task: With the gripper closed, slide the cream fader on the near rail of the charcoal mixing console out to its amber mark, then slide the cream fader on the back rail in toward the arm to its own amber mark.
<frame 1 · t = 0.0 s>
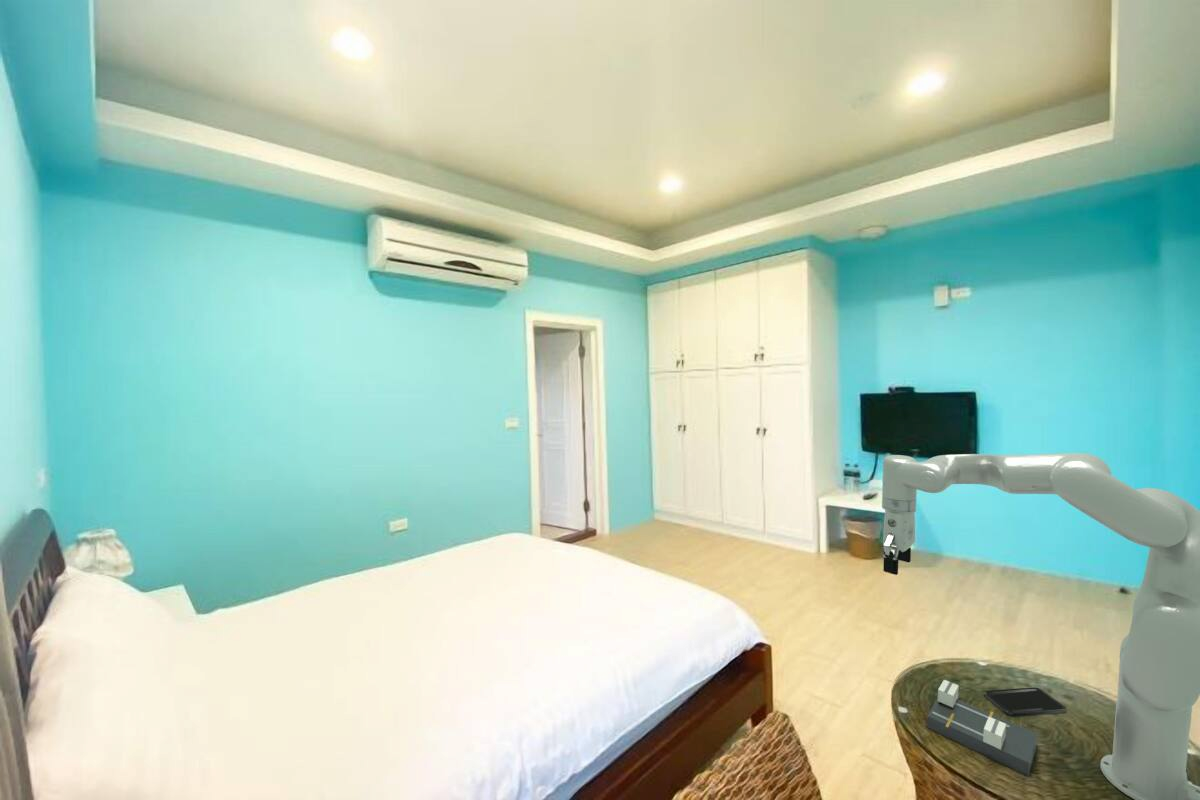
hand: (897, 566, 127), 31 cm above the table, fingers open, 9 cm apart
fader near: (994, 732, 105), point 5 cm above the table, slide at 0.0 cm
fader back: (948, 693, 117), point 5 cm above the table, slide at 10.0 cm
phone: (1023, 705, 120), on the table
console: (980, 736, 110), on the table
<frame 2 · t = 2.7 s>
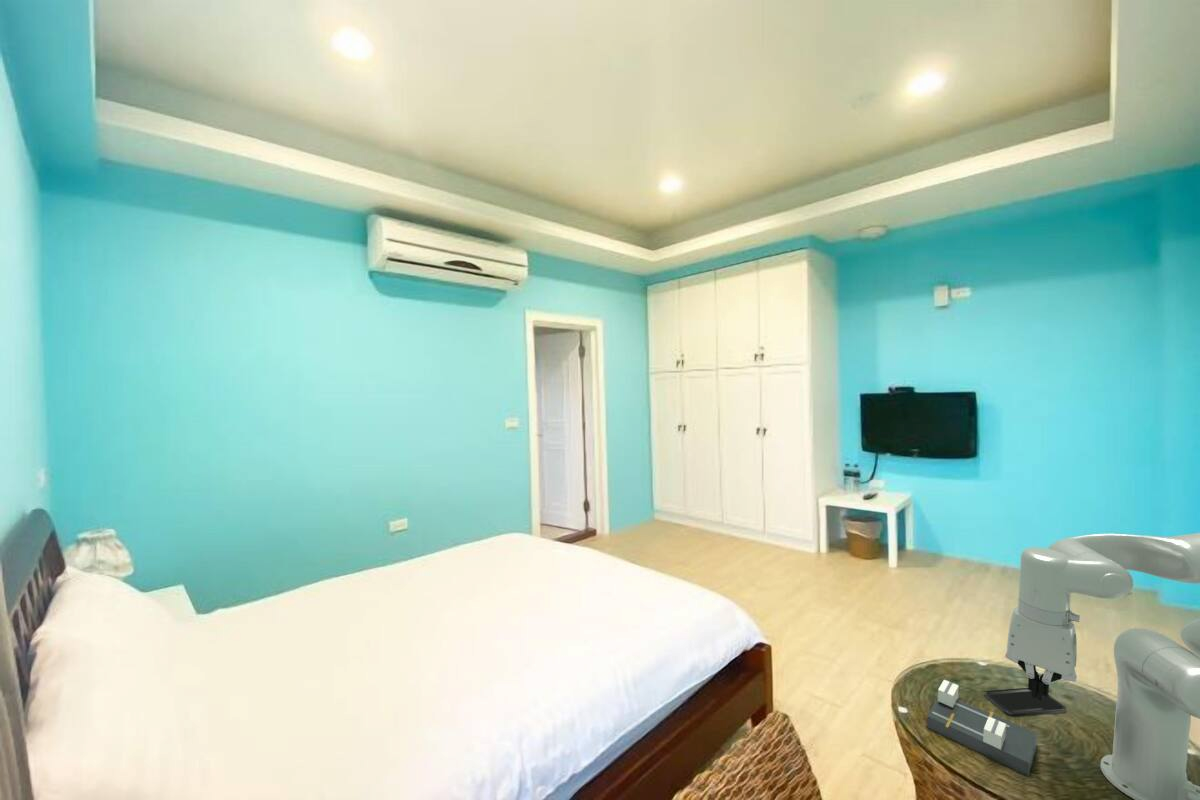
hand: (1037, 695, 99), 17 cm above the table, fingers closed
nothing on the table moved.
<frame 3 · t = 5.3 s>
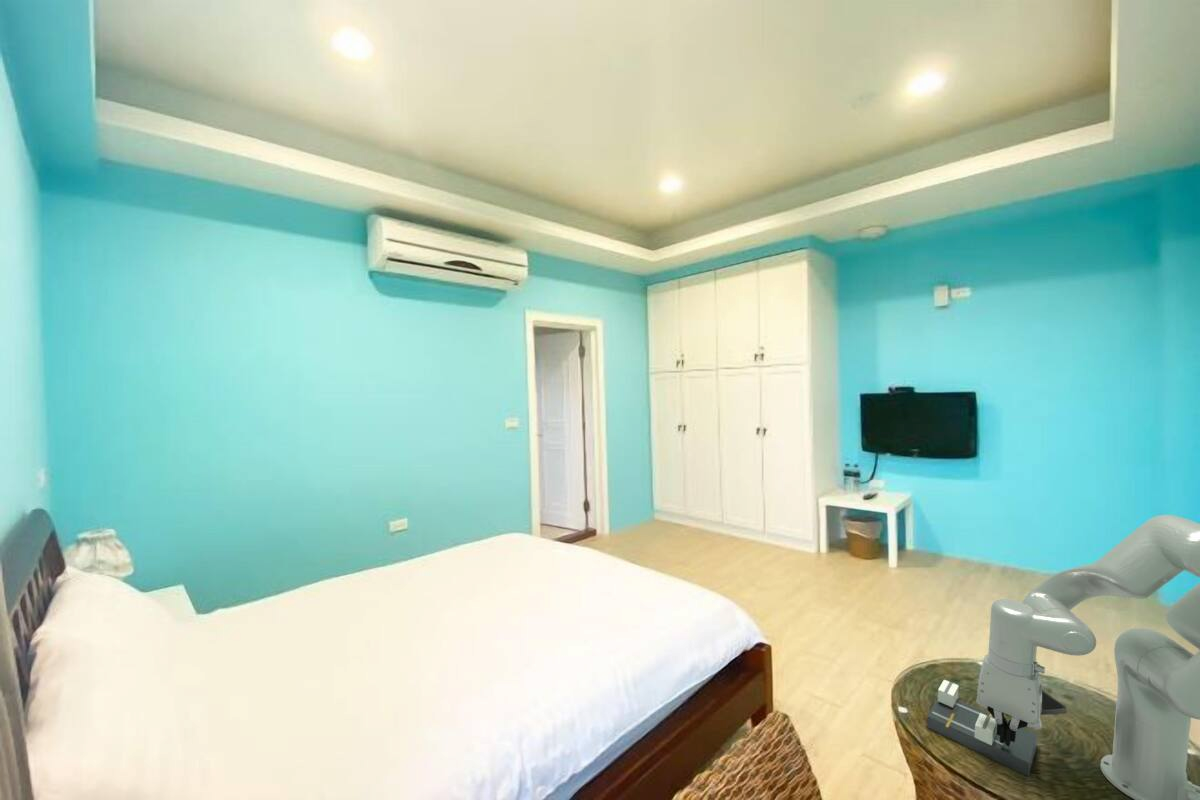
hand: (1005, 740, 104), 4 cm above the table, fingers closed
fader near: (985, 728, 106), point 5 cm above the table, slide at 1.5 cm, touching gripper
everything else where it was.
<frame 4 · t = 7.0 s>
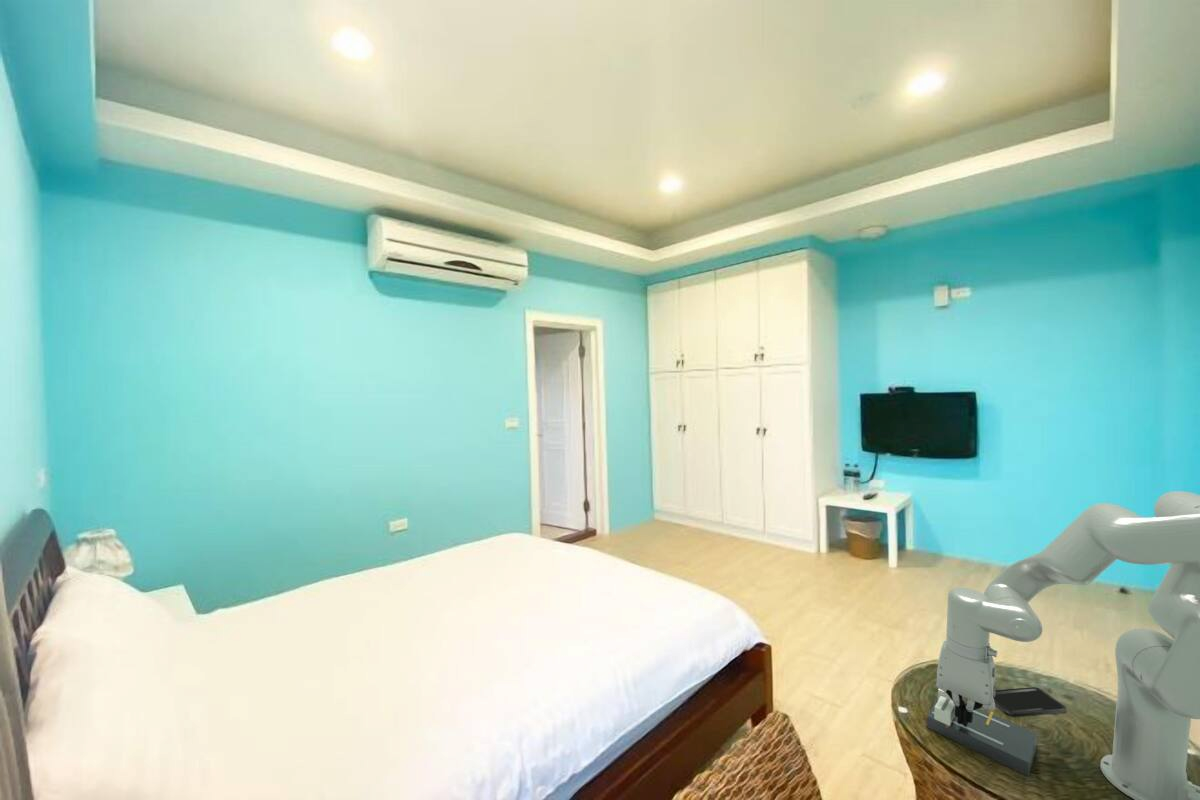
hand: (963, 721, 109), 4 cm above the table, fingers closed
fader near: (945, 710, 112), point 5 cm above the table, slide at 9.0 cm, touching gripper
everything else where it was.
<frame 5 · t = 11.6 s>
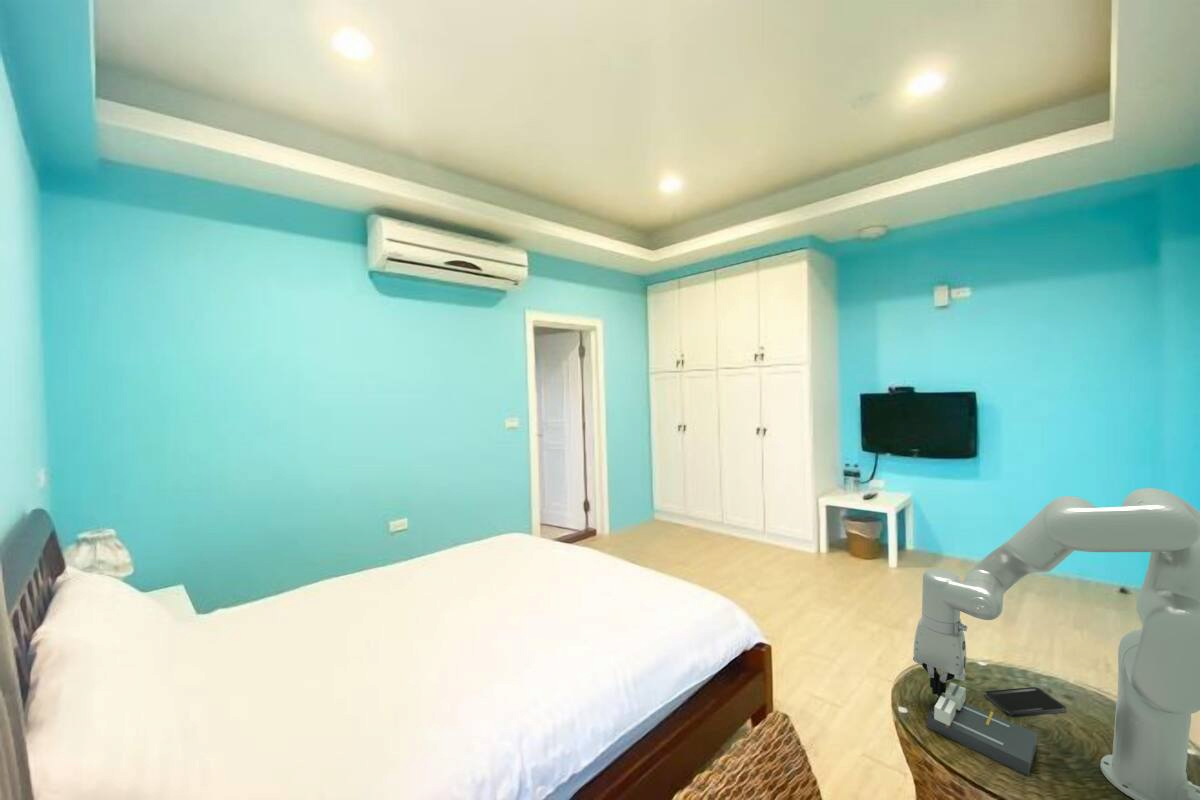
hand: (937, 692, 119), 4 cm above the table, fingers closed
fader near: (945, 710, 112), point 5 cm above the table, slide at 9.0 cm
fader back: (955, 696, 116), point 5 cm above the table, slide at 8.6 cm, touching gripper
everything else where it was.
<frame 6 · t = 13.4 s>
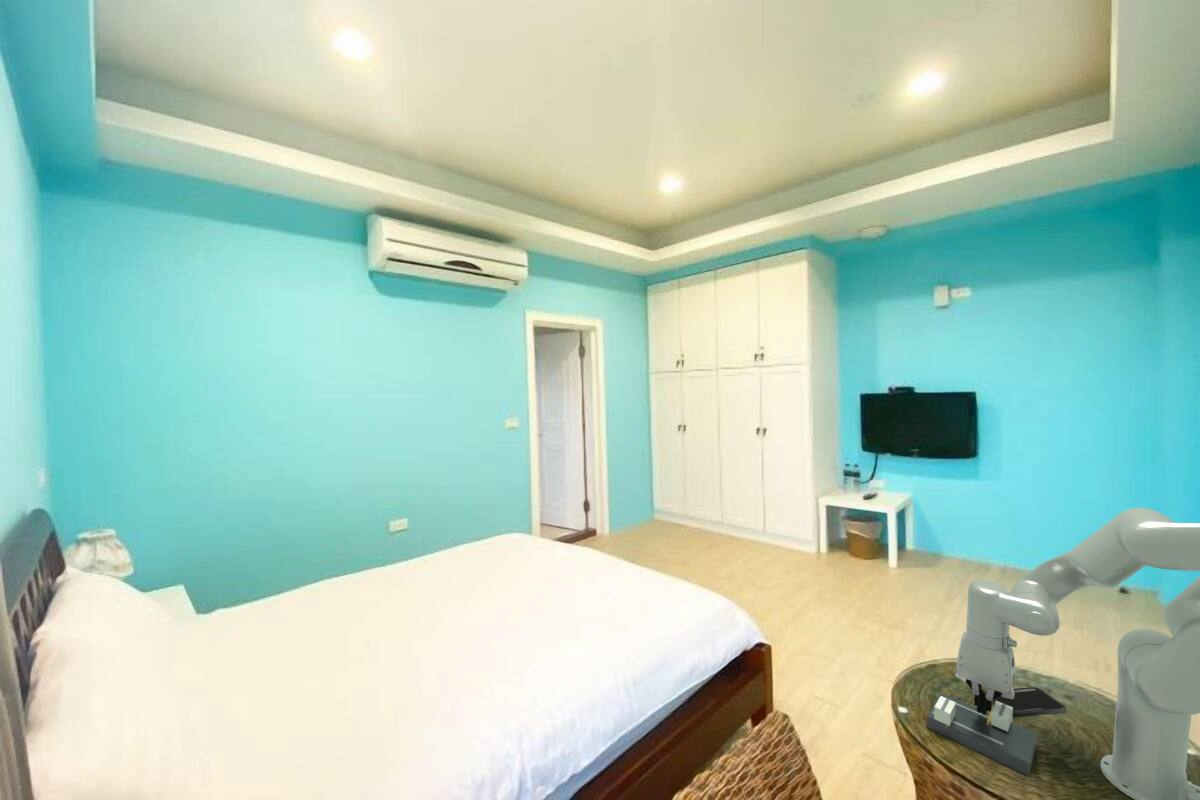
hand: (982, 710, 112), 4 cm above the table, fingers closed
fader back: (1001, 715, 110), point 5 cm above the table, slide at -0.1 cm, touching gripper
everything else where it was.
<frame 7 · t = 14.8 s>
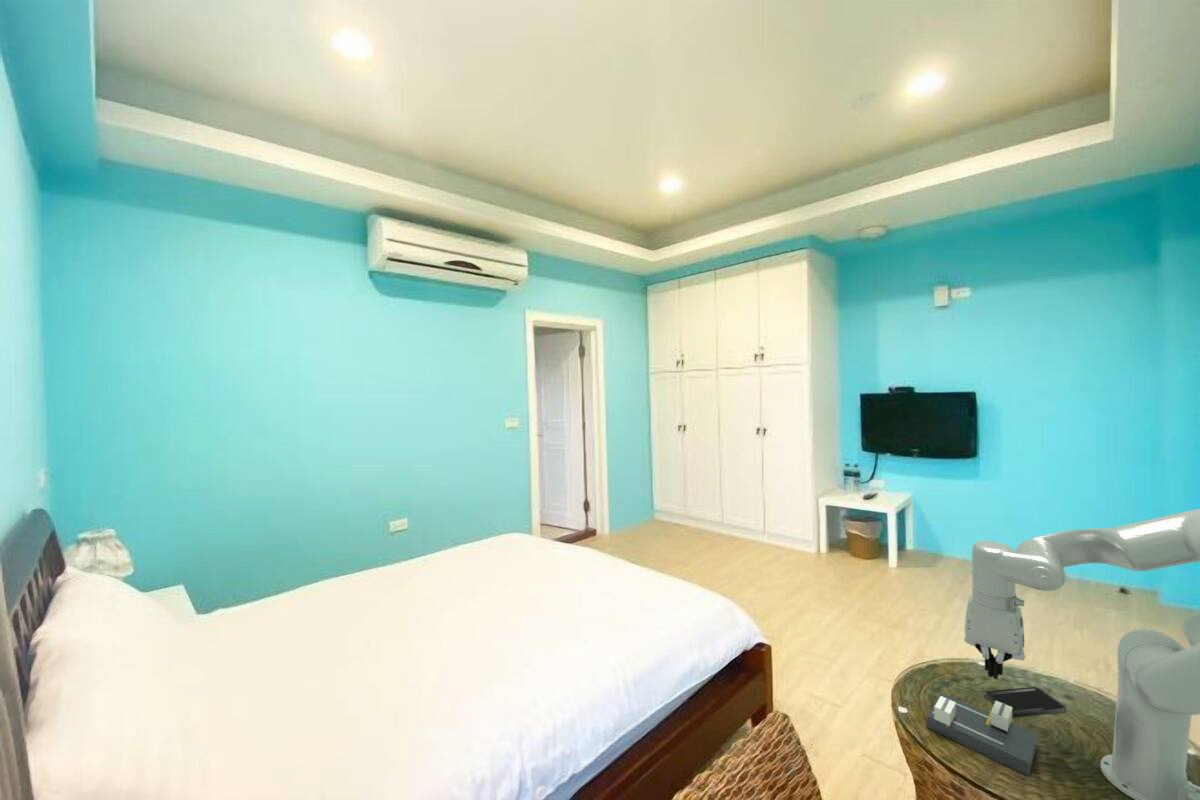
hand: (993, 675, 110), 14 cm above the table, fingers closed
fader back: (1001, 715, 110), point 5 cm above the table, slide at -0.1 cm
everything else where it was.
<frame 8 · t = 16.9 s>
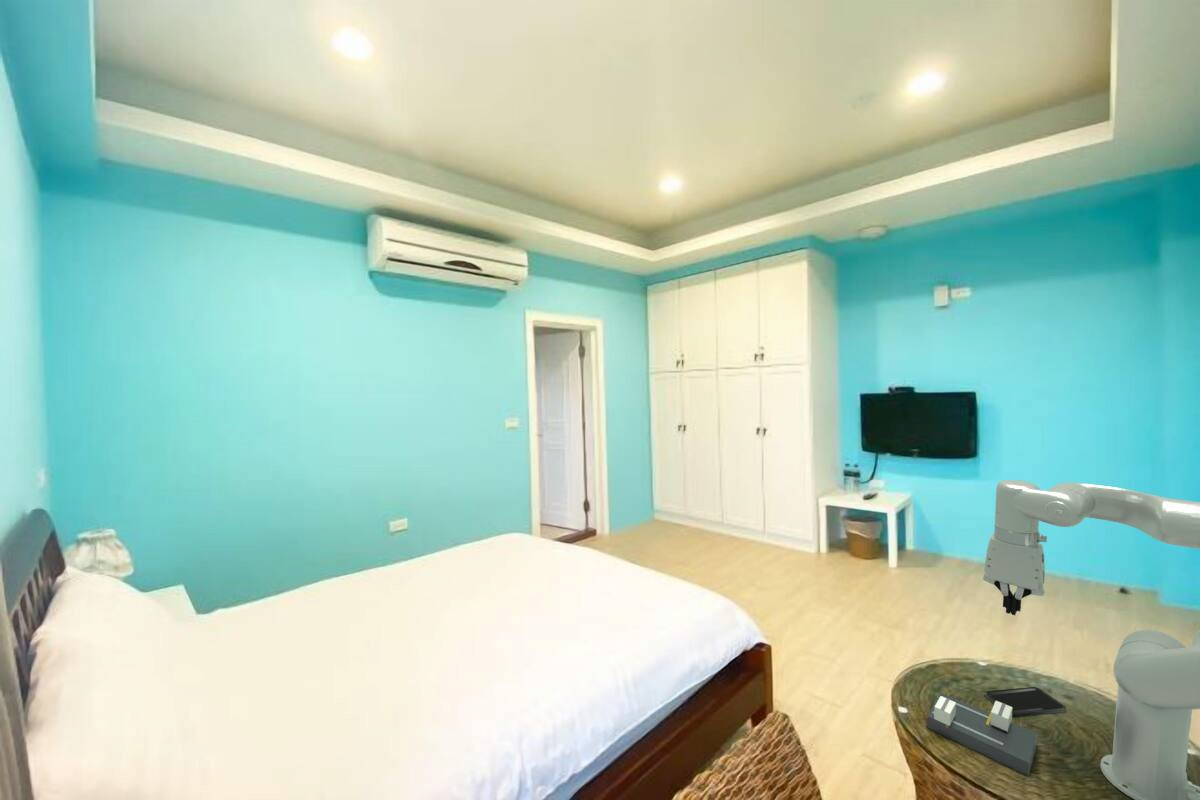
hand: (1011, 611, 112), 27 cm above the table, fingers closed
nothing on the table moved.
at the end: fader near slide at 9.0 cm; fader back slide at -0.1 cm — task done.
